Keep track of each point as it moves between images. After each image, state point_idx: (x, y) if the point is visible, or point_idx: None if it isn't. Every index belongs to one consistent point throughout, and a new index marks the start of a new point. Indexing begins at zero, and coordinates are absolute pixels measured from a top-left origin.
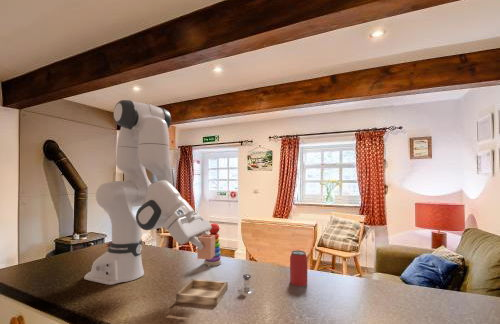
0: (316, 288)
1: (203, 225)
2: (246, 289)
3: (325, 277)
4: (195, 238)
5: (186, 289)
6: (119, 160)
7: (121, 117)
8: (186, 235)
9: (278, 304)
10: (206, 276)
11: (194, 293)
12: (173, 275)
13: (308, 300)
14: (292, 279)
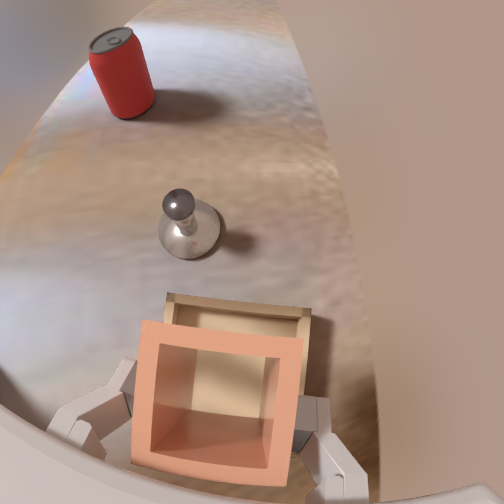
0: (164, 74)
1: (20, 482)
2: (196, 223)
3: None
4: (362, 482)
5: None
6: None
7: None
8: (496, 496)
9: (257, 143)
10: (64, 391)
11: (226, 410)
12: None
13: (228, 88)
14: (139, 103)
